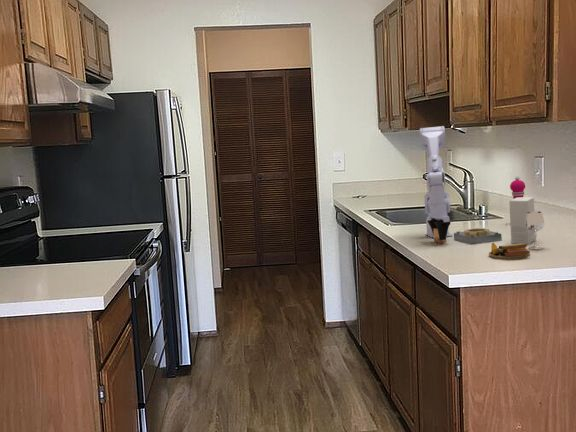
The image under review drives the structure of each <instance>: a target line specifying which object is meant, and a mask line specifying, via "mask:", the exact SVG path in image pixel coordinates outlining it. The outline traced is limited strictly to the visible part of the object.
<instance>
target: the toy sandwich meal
mask: <svg viewBox="0 0 576 432" xmlns="http://www.w3.org/2000/svg"><path fill="white" fill-rule="evenodd" d="M527 247H528V244H506V245H505V244H504V245H498V246H497V245H496V244H495V242H492V243H491V247H490V248H491V251H489V252H488V255H489V256H490V257H491V258H493V259H499V260H515V259H518V260H519V259H523V258H526V257H528V256H529V255H530V254H531V251H530V250H528V249H527Z"/></svg>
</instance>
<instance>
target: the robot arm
mask: <svg viewBox="0 0 576 432" xmlns="http://www.w3.org/2000/svg"><path fill="white" fill-rule="evenodd" d="M419 142H420V146H421V151H422V150H423V151H425V152H426V154H427V157H428V158H427V160H426V167H427V174H426V183H427V189H428V192H426V193H425V194H424V211H425V214H426V215H428V216H427V217H426V220H425V221H426V222H425V223H426V233H425V234H424V235H425V236H426V235H428V236H427V237H429V236H430V237H429V238H432V237H433V239H434V231H433V228H437V229H438V234H439V239H440V240H446V241H447V237H454V234H452V233H449V228H450V225H451V220H450V216H449V215H448V213H450V212H451V201H450V194H449V193H448V191H446V189H445V186H446V174H445V171H444V168H443V158H442V157H441V156H440V154H441V150H443V149H444V148H445V146H446V129H445V126H444V125H442V126H432V127H431V126H430V127H420V128H419Z"/></svg>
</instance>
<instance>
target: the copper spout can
mask: <svg viewBox="0 0 576 432" xmlns="http://www.w3.org/2000/svg"><path fill="white" fill-rule="evenodd" d="M433 231H434V238H433V240H434V241H433V242H434V244H435V243H436V244H437V245H440V244H442V243H443V244H446V243H447V239H446V240H440V239H439V234H438V229H437V228H433ZM436 244H435V245H436Z"/></svg>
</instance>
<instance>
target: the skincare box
mask: <svg viewBox="0 0 576 432" xmlns="http://www.w3.org/2000/svg"><path fill="white" fill-rule="evenodd" d="M534 211H535V197H534V196H529V197H528V196H523V197H518V198H515V199H513V198H512V199H511V200H509V221H510V223H509V224H510V243H511V244H510V245H512V244H527V245H530V244H531V243H533V242H535V237H534V231H531V230H529V229H527V227H526V224H525V219H526V214H527V212H534Z"/></svg>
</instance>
